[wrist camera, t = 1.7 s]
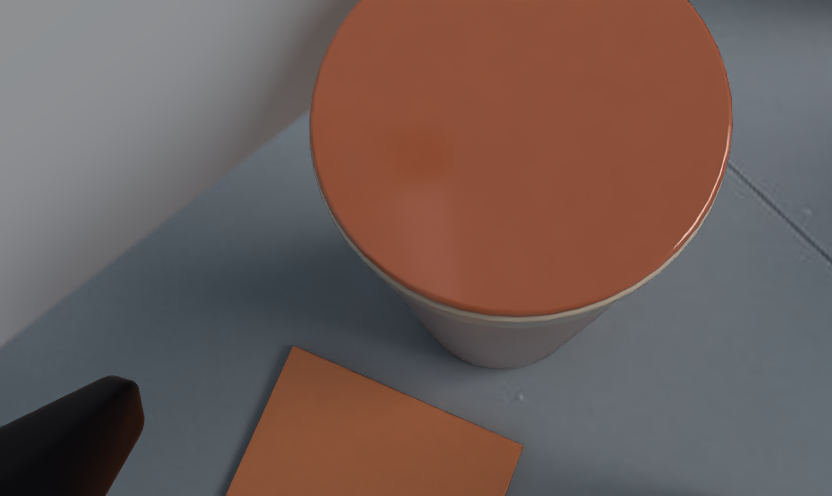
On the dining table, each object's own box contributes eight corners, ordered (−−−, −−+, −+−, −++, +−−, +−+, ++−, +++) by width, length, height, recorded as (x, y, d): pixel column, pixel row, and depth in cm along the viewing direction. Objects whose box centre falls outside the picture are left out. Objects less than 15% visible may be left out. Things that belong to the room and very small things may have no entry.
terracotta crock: (552, 399, 20) (656, 393, 7) (387, 330, 21) (235, 224, 8) (612, 235, 21) (794, -15, 8) (452, 178, 22) (401, -119, 9)
